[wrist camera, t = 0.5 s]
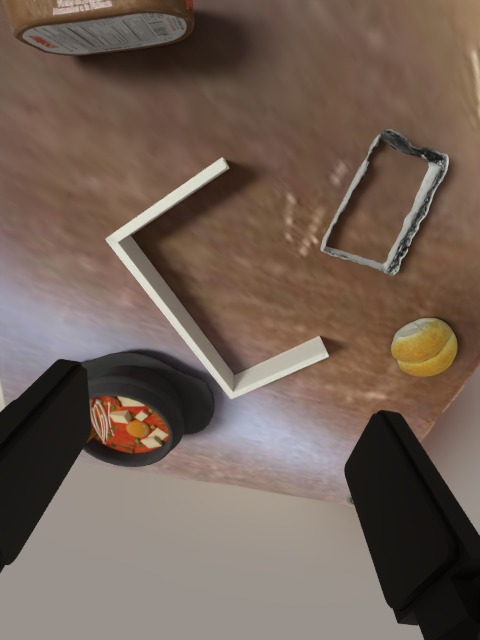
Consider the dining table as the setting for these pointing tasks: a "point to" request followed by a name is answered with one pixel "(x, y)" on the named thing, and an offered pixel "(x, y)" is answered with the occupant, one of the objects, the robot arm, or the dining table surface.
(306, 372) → the dining table surface
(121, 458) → the casserole
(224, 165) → the box
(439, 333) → the bread roll
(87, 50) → the tin
